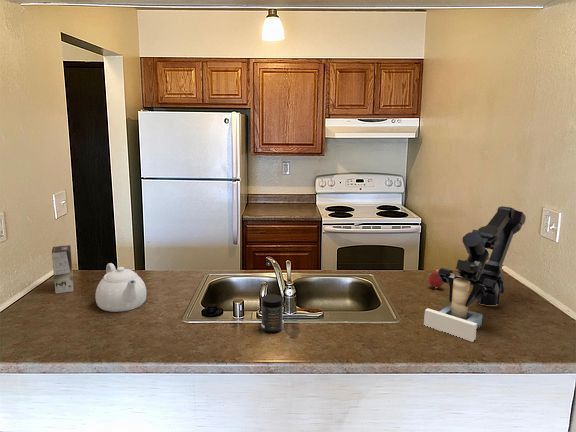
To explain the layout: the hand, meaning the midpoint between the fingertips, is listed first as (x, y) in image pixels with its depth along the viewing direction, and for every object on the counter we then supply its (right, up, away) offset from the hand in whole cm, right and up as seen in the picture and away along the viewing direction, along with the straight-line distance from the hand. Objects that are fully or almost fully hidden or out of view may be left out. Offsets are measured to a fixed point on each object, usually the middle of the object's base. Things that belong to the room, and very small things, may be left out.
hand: (458, 303), depth 147 cm
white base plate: (+2, -8, +4) cm, 9 cm away
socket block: (+1, -8, +3) cm, 8 cm away
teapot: (-114, -4, +18) cm, 115 cm away
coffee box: (-140, 0, +31) cm, 144 cm away
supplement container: (-59, -8, 0) cm, 60 cm away
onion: (+5, -1, +38) cm, 38 cm away
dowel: (+1, -6, +3) cm, 7 cm away
